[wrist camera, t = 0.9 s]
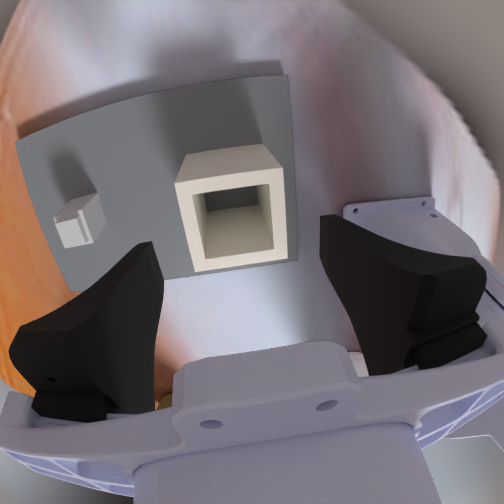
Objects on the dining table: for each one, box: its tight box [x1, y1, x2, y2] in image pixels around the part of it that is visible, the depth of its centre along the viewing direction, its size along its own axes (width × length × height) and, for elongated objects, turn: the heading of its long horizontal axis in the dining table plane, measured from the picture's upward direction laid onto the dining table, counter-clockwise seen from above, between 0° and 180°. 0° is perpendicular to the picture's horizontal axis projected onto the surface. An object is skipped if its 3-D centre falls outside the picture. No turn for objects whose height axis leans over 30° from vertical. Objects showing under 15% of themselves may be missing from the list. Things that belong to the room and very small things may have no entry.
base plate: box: [15, 75, 298, 292], centre depth 18 cm, size 20×14×4 cm
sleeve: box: [174, 144, 288, 272], centre depth 17 cm, size 5×5×6 cm
